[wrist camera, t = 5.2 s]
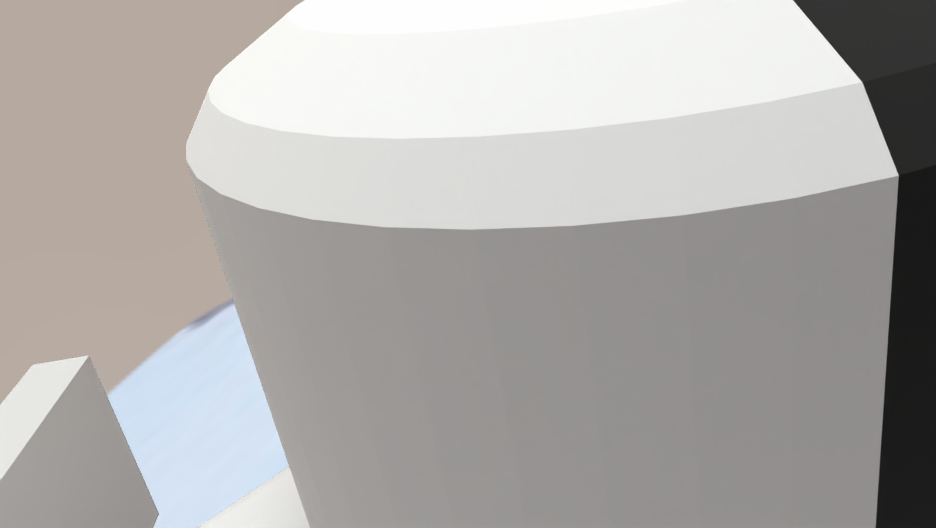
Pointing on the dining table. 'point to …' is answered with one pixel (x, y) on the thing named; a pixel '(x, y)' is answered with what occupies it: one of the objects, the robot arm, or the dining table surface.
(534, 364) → the container
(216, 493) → the dining table surface
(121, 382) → the dining table surface
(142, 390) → the dining table surface
